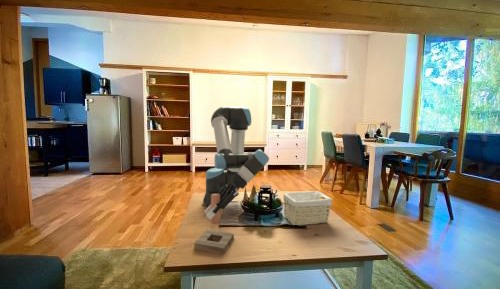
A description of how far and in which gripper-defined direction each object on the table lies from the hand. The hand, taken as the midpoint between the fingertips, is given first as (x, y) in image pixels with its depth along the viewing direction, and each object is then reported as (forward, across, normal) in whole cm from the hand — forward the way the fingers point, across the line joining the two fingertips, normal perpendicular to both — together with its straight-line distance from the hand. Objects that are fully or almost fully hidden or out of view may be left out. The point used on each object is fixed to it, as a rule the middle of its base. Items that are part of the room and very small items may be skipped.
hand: (207, 215), depth 118 cm
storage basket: (-32, +11, -53) cm, 63 cm away
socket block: (+8, 0, -13) cm, 15 cm away
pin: (0, 0, -5) cm, 5 cm away
